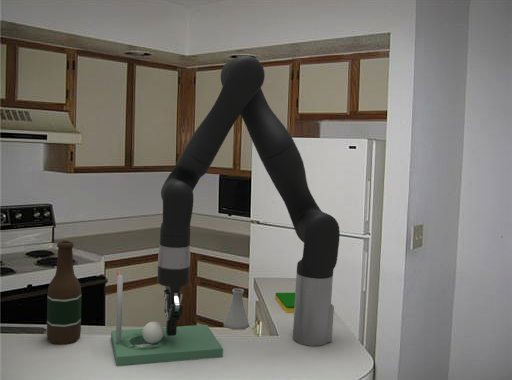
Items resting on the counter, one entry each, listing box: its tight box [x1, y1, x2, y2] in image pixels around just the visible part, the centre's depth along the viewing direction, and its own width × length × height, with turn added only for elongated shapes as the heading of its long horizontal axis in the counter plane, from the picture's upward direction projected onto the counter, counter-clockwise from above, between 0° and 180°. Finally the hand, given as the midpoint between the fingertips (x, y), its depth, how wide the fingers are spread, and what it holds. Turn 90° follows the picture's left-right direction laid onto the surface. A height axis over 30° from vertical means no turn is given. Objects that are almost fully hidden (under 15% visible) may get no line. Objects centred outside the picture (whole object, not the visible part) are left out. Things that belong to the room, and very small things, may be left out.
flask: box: [223, 288, 250, 331], centre depth 151 cm, size 7×7×10 cm
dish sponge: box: [274, 292, 295, 314], centre depth 171 cm, size 7×14×2 cm, turn 12°
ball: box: [142, 321, 164, 344], centre depth 133 cm, size 5×5×5 cm
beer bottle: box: [46, 240, 82, 345], centre depth 135 cm, size 8×8×24 cm
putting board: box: [110, 269, 224, 367], centre depth 133 cm, size 24×16×18 cm, turn 109°
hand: (171, 334), depth 134 cm, fingers closed
